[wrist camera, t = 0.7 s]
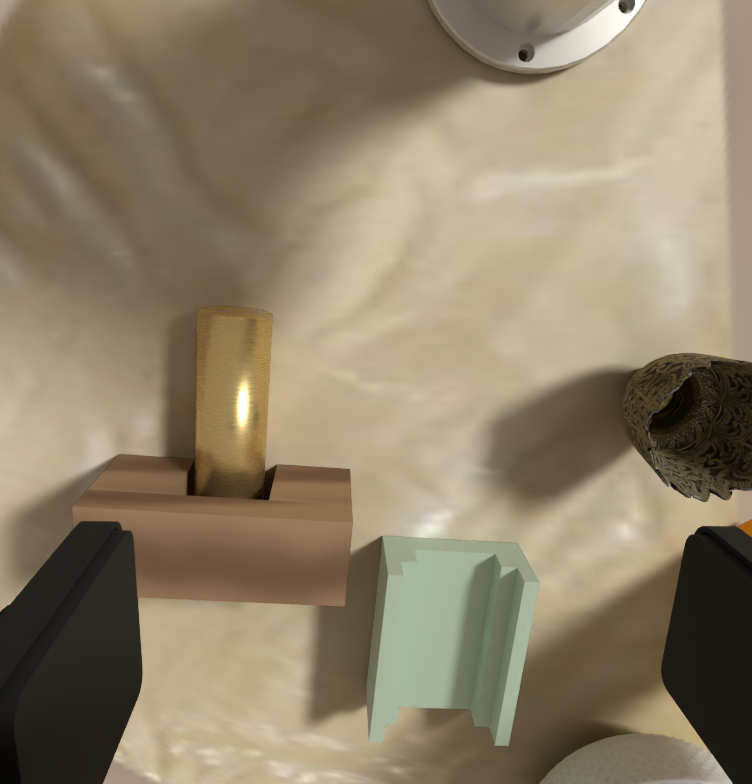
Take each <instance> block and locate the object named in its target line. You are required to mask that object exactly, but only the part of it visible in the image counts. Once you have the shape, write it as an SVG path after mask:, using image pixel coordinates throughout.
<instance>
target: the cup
mask: <svg viewBox="0 0 752 784" xmlns="http://www.w3.org/2000/svg"><path fill="white" fill-rule="evenodd" d="M621 413H622V421H623V426H624V429H625V431H626V433H627V435H628V437H629V439H630V441H631V442H632V444H633V445H634V447H635V448H636V450H637V451H638V452H639V453H640V455H641V456H642V457H643V458H644V459H645V461H646V462H647V463H648V464H649V465H650V466H651V468H652V469H653V470H654V471H655V472H656V473H657V475H658V476H659V477H660V478H661V480H662V481H663V482H664V483H665V484H666V485H667V486H668V487H669V486H671V487H672V488H673V489H674V490H676V491H678V492H679V493H681V494H682V495H684V496H685V497H687V498H691V496H692V497H693V498H695V499H698V500H700V501H703V502H707V501H708V499H709V496H710V493H712V494H715V495H717V496H718V497H720V498H721V499H723V500H729V499H730V498H731V495H732V491H730V490H743V491H749V490H752V363H751V362H747V361H739V360H733V359H728V358H722V357H717V356H711V355H704V354H696V353H681V354H672V355H667V356H664V357H661V358H659V359H656V360H654V361H652V362H650V363H649V364H647V365H646V366H644V367H643V368H642V369H641V370H639V371H637V372H636V373H635V374H633V375H632V377H631V378H630V379H629V380H628V382H627V384H626V387H625V390H624V396H623V400H622V407H621ZM709 492H710V493H709Z"/></svg>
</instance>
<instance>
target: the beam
mask: <svg viewBox="0 0 752 784" xmlns="http://www.w3.org/2000/svg"><path fill="white" fill-rule="evenodd" d="M194 481H195V459H185V458H169V457H153V456H138V455H122V454H119V455H118V456H117V457H116V458H115V459H114V461H113V462H112V463H111V464H110V465H109V466H108V467H107V468H106V469H105V471H104V472H103V473H102V474H101V475H100V476H99V477H98V478H97V480H96V481H95V482H94V483H93V484H92V485H91V486H90V487H89V488H88V490H87V491H86V492H85V493H84V494H83V495H82V496H81V497H80V498H79V500H78V501H77V502H76V503H75V504H74V505H73V506H72V517H73V529H74V528H75V527H76V525H77V524H78V523H79V522H81V521H118V522H119V523H120V524H121V527H122V530H130V531H131V532H132V534H133V539H134V552H135V567H136V582H137V596H138V597H147V598H169V599H191V600H213V601H235V602H257V603H279V604H301V605H323V606H345V600H346V589H347V578H348V568H349V557H350V547H351V536H352V525H353V518H352V499H351V480H350V469H340V468H325V467H309V466H294V465H278V464H277V468H276V472H275V476H274V481H273V485H272V489H271V493H270V498H269V500H255V499H238V498H221V497H204V496H194Z"/></svg>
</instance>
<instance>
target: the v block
mask: <svg viewBox="0 0 752 784" xmlns="http://www.w3.org/2000/svg"><path fill="white" fill-rule="evenodd" d="M539 583H540V582H539V580H538V579H537V577H536V575H535V573H534V571H533V569H532V568H531V566H530V564H529V562H528V560H527V559H526V557H525V555H524V553H523V551H522V549H521V548H520V546H519V544H518V543H501V542H483V541H465V540H447V539H429V538H411V537H393V536H383V537H382V546H381V556H380V565H379V574H378V583H377V592H376V601H375V611H374V620H373V629H372V638H371V647H370V656H369V666H368V675H367V684H366V700H367V716H368V732H369V742H379V743H383V741H384V733H385V725H386V724H397V719H398V711H399V707H413V708H444V709H470V711H471V715H472V719H473V723H474V726H475V727H489V728H490V731H491V734H492V738H493V741H494V744H495V746H509V741H510V736H511V731H512V725H513V720H514V715H515V709H516V704H517V699H518V694H519V688H520V683H521V678H522V672H523V667H524V662H525V657H526V651H527V646H528V641H529V635H530V630H531V625H532V620H533V614H534V609H535V604H536V599H537V593H538V588H539Z"/></svg>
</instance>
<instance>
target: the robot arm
mask: <svg viewBox="0 0 752 784" xmlns="http://www.w3.org/2000/svg"><path fill="white" fill-rule="evenodd" d="M645 2H646V0H428V3H429V5H430V7H431V10H432V12H433V13H434V15H435V16H436V18H437V19H438V21H439V22H440V24H441V25H442V27H443V28H444V30H445V31H446V32H447V33H448V34H449V36H450V37H451V38H452V39H453V40H454V41H455V42H456V43H457V44H458V45H459V46H460V47H461V48H462V49H464V50H465V51H466V52H468V53H469V54H471V55H472V56H474V57H475V58H477V59H478V60H480V61H481V62H483V63H486V64H488V65H491V66H493V67H496V68H498V69H500V70H503V71H509V72H515V73H520V74H542V73H550V72H554V71H558V70H562V69H566V68H569V67H571V66H573V65H575V64H578V63H580V62H582V61H584V60H586V59H588V58H590V57H591V56H593V55H594V54H596V53H597V52H599V51H600V50H602V49H604V48H605V47H607V46H608V45H609V44H610V43H611V42H612V41H613V40H614V39H616V38H617V37H618V36H619V35H620V34H621V33H622V32H623V31H625V29H626V28H627V27H628V26H629V25H630V23H631V22H632V21H633V20H634V19H635V17H636V16H637V15H638V13H639V12H640V11H641V9H642V7H643V5H644V4H645ZM618 4H620V5H622V7H623V13H622V12H621V11H620V10H619V8H618ZM519 52H523V53H525V55H526V59H525V61H521V60H520V59H519V57H518V54H519ZM661 673H662V679H663V682H664V685H665V687H666V689H667V691H668V692H669V694H670V695H671V697H672V698H673V699H674V701H675V702H676V704H677V705H678V707H679V708H680V709H681V711H682V712H683V714H684V715H685V716H686V718H687V719H688V721H689V722H690V724H691V725H692V726H693V728H694V729H695V731H696V732H697V734H698V735H699V736H700V738H701V739H702V741H703V742H704V743H705V745H706V746H707V748H708V749H709V751H710V752H711V753H712V755H713V756H714V758H715V759H716V761H717V762H718V763H719V765H720V766H721V768H722V769H723V770H724V772H725V773H726V775H727V776H728V778H729V779H730V780H731V782H732V783H733V784H752V537H751V536H749V535H748V534H747V533H745V532H744V531H743V530H741V529H740V528H738V527H731V526H702V527H700V528H698V529H697V531H696V532H695V534H694V535H690V536H689V537H688V538H687V540H686V543H685V547H684V552H683V558H682V563H681V568H680V573H679V578H678V583H677V588H676V594H675V599H674V604H673V609H672V614H671V619H670V624H669V629H668V635H667V640H666V645H665V650H664V655H663V660H662V666H661ZM141 684H142V655H141V641H140V626H139V611H138V596H137V582H136V567H135V552H134V539H133V534H132V532H131V531H130V530H122V527H121V524H120V523H119V522H118V521H81V522H79V523H78V524H77V525H76V527H75V528H74V529H73V530H72V531H71V533H70V534H69V535H68V536H67V537H66V538H65V540H64V541H63V542H62V543H61V544H60V546H59V547H58V548H57V549H56V550H55V552H54V553H53V554H52V555H51V556H50V558H49V559H48V560H47V561H46V562H45V564H44V565H43V566H42V567H41V568H40V570H39V571H38V572H37V573H36V574H35V576H34V577H33V578H32V579H31V580H30V582H29V583H28V584H27V585H26V586H25V587H24V589H23V590H22V591H21V592H20V593H19V595H18V596H17V597H16V598H15V599H14V601H13V602H12V603H11V604H10V605H8V606H6V607H5V608H4V609H3V610H2V611H1V612H0V784H103V782H104V779H105V777H106V774H107V772H108V769H109V767H110V764H111V762H112V760H113V757H114V755H115V752H116V750H117V748H118V745H119V743H120V740H121V738H122V735H123V733H124V730H125V728H126V726H127V723H128V721H129V718H130V716H131V713H132V711H133V708H134V706H135V704H136V701H137V699H138V696H139V693H140V689H141Z"/></svg>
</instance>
